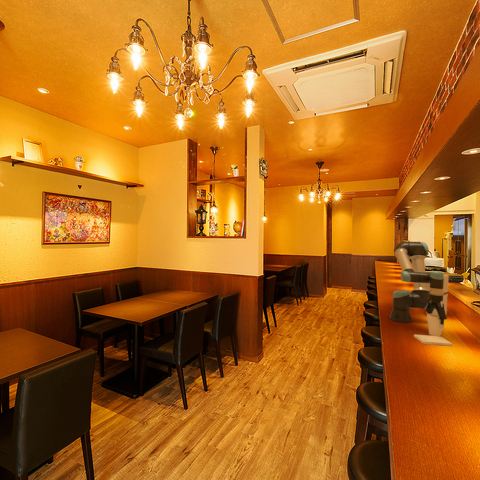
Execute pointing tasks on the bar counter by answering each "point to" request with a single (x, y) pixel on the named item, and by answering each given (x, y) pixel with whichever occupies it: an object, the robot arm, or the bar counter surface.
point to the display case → (445, 294)
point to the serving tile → (432, 340)
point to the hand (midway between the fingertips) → (435, 326)
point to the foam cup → (433, 324)
